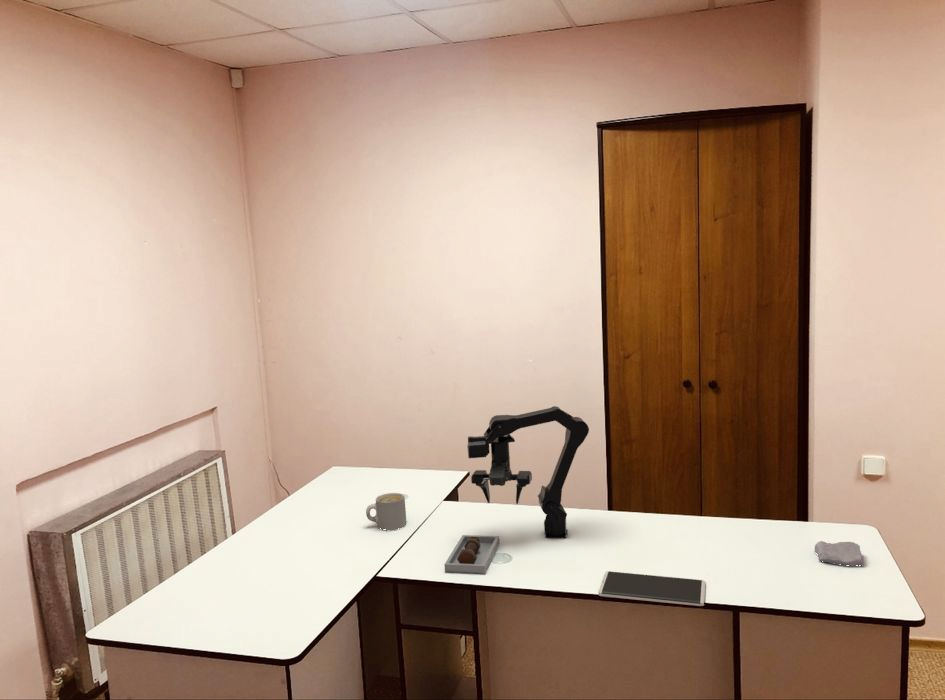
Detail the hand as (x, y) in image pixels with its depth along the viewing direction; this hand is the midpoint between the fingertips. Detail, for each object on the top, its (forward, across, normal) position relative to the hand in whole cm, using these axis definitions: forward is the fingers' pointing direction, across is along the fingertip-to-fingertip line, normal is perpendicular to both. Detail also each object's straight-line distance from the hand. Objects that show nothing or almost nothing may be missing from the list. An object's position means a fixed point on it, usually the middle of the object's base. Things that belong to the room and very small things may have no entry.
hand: (503, 503), depth 238 cm
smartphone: (+13, +46, -30) cm, 57 cm away
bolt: (+12, -7, -16) cm, 21 cm away
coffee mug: (+12, -43, +8) cm, 45 cm away
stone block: (+12, +98, -6) cm, 99 cm away
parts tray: (+12, -7, -15) cm, 20 cm away
